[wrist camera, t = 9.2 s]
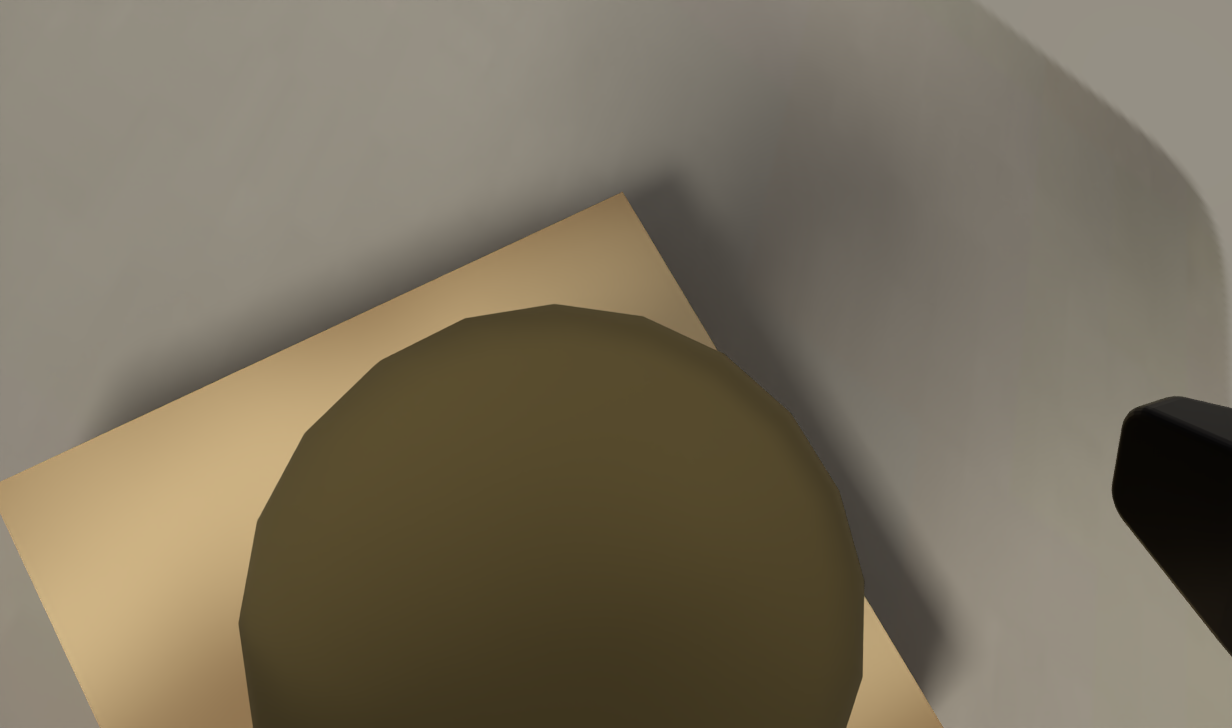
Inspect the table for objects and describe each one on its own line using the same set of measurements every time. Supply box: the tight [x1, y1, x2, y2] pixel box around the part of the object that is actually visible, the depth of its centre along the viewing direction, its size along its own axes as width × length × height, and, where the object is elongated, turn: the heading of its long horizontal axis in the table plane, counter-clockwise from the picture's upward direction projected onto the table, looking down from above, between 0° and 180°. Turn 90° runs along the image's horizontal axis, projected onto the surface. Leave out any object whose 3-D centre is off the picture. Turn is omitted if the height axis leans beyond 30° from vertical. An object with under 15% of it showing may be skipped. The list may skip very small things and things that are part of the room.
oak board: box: [0, 192, 943, 728], centre depth 19 cm, size 12×12×2 cm
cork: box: [238, 304, 864, 728], centre depth 13 cm, size 6×6×11 cm
